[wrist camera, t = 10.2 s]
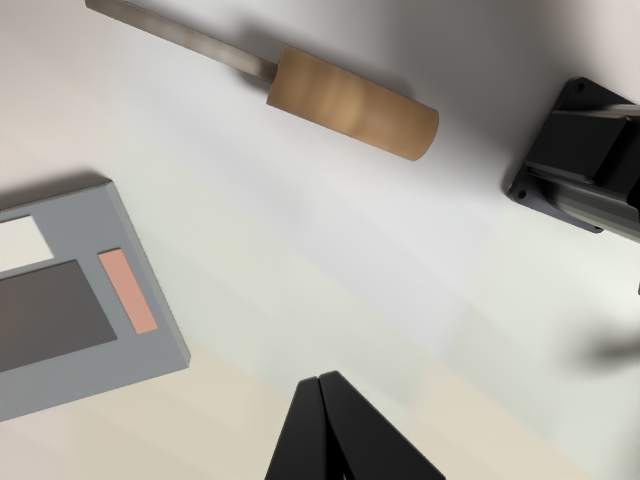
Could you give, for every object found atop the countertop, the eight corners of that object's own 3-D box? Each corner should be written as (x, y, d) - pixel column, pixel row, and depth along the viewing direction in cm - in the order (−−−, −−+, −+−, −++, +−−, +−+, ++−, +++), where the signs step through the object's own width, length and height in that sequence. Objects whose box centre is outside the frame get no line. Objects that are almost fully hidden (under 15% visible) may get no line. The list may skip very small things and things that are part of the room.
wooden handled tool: (423, 108, 18) (446, 110, 16) (402, 156, 19) (421, 165, 17) (107, -30, 15) (82, -51, 13) (95, 36, 15) (69, 27, 13)
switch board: (112, 181, 17) (104, 187, 16) (190, 355, 21) (187, 369, 20) (-215, 264, 17) (-246, 276, 16) (-72, 431, 20) (-90, 449, 19)
